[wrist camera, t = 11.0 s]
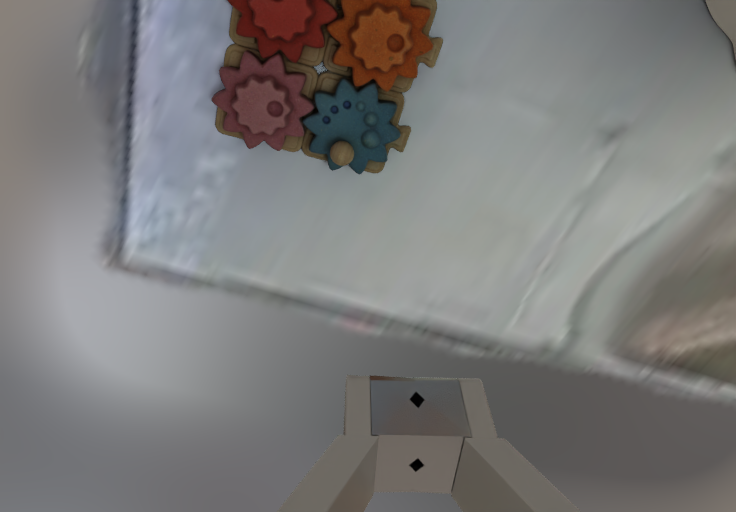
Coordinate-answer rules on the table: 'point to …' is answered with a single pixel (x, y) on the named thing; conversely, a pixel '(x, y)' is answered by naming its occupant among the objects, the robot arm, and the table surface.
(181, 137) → the table surface
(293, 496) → the robot arm
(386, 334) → the table surface
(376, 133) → the gear puzzle
